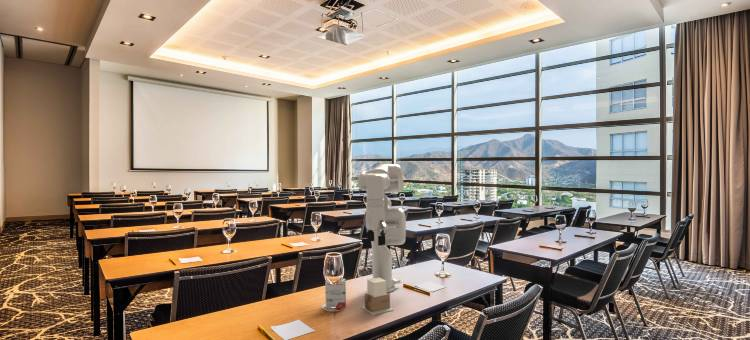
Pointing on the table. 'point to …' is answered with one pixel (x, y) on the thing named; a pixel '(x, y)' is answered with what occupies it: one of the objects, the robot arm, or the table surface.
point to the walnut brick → (377, 302)
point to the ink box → (336, 294)
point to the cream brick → (376, 287)
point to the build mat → (378, 311)
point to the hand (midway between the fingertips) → (376, 243)
